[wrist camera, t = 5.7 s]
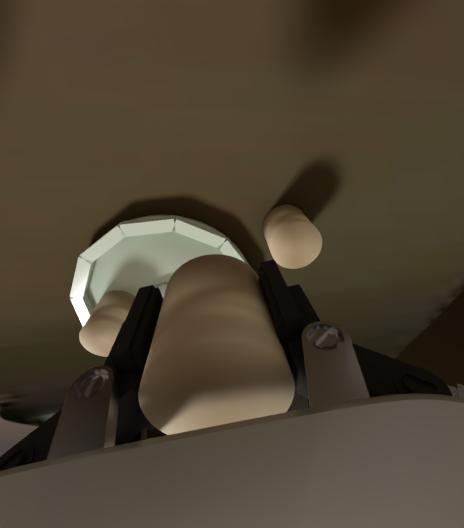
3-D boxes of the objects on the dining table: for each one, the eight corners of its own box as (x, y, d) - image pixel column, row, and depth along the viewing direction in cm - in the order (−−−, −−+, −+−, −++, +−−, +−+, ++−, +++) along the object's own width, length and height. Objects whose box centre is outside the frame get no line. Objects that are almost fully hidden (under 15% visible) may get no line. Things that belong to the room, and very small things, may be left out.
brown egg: (304, 200, 26) (322, 217, 21) (306, 241, 28) (322, 264, 24) (260, 208, 26) (268, 227, 22) (264, 248, 28) (273, 272, 24)
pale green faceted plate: (249, 204, 26) (252, 211, 23) (258, 347, 35) (261, 362, 33) (51, 226, 25) (36, 235, 23) (112, 364, 34) (105, 381, 32)
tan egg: (255, 244, 11) (287, 324, 6) (269, 325, 13) (299, 428, 8) (151, 266, 11) (112, 358, 7) (181, 343, 13) (166, 454, 9)
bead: (135, 288, 28) (121, 318, 24) (145, 320, 30) (134, 353, 26) (93, 292, 28) (71, 324, 24) (106, 324, 30) (88, 359, 26)
